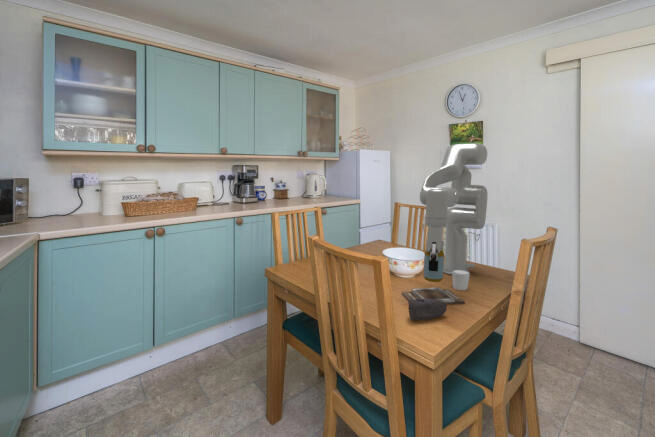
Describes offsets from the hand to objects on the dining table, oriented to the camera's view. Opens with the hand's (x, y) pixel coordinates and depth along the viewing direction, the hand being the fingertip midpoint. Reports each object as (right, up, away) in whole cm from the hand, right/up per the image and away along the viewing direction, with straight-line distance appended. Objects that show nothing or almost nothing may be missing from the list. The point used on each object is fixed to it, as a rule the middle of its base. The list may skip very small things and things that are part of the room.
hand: (433, 267), depth 120 cm
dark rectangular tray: (0, -12, +2) cm, 13 cm away
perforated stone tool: (-7, -15, -14) cm, 22 cm away
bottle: (0, -5, +1) cm, 5 cm away
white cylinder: (+16, -11, +13) cm, 23 cm away
